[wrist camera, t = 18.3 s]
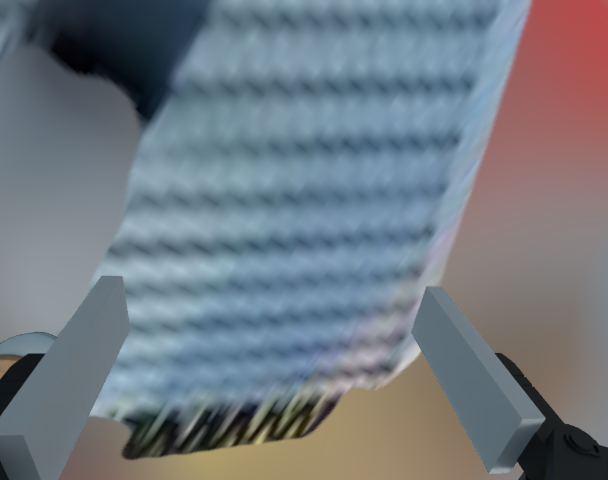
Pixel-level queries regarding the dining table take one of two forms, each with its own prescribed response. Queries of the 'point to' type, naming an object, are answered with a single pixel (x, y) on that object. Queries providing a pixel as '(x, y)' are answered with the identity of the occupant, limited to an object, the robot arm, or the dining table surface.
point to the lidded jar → (23, 348)
